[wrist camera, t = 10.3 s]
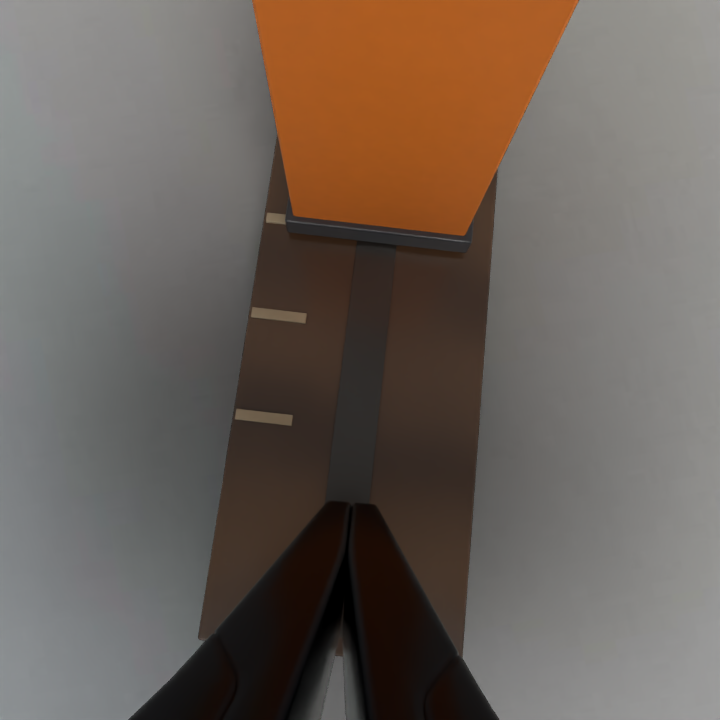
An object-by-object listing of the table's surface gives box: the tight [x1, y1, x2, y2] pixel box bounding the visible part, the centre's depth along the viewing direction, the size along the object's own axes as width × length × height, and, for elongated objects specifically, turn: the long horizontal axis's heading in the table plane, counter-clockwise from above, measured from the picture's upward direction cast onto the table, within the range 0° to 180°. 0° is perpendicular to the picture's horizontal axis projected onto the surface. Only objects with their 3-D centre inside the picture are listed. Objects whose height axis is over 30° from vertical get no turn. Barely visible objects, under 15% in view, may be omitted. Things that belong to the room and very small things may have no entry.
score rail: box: [198, 133, 498, 657], centre depth 17 cm, size 20×7×4 cm, turn 174°
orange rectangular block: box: [252, 0, 579, 253], centre depth 13 cm, size 4×5×10 cm
